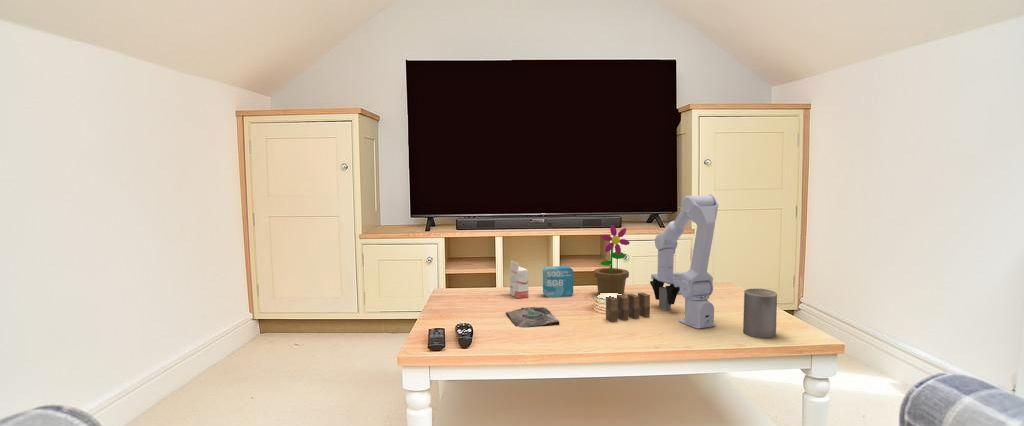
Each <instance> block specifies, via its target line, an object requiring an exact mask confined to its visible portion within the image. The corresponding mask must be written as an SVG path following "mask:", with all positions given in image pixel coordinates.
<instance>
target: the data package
mask: <svg viewBox="0 0 1024 426" xmlns="http://www.w3.org/2000/svg"><path fill="white" fill-rule="evenodd" d="M542 293H543V295H544V296H545V297H547V298H563V297H565V298H567V297H571V296H573V295H574V269H573V268H572V267H570V266H569V265H562V266H561V265H559V266H555V265H554V266H545V267H543V268H542Z"/></svg>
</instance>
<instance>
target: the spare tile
mask: <svg viewBox="0 0 1024 426" xmlns="http://www.w3.org/2000/svg"><path fill="white" fill-rule="evenodd" d="M658 308H659V309H660V310H663V311H666V312H668V311H672V305H669V304H668V294H667V290H666V287H665V286H663V287H659V300H658Z"/></svg>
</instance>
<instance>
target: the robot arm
mask: <svg viewBox="0 0 1024 426" xmlns="http://www.w3.org/2000/svg"><path fill="white" fill-rule="evenodd" d="M718 208H719V203H718V201H717V198H716V197H715V195H713V194H708V195H707V194H706V195H705V194H704V195H685V196H684V199H683V200H682V201H681V210H680V212H679V213H678V215H677V216H676V218H675V219H674V220H672V221H669V222H668V224H667V226H666V227H665V229H664V230H663V232H662V233H659V234H657V235H656V236H655V239H654V246H655V248H656V249H657V273H652V274H651V276H650V281H649V284H650V285H651V288H652V290H653V293H654V298H655V300H656V301H659V287H666V290H667V294H668V304H669V305H671V306H672V305H675V302H676V299H677V296H678V295H679V294H678V292H679V290H680V292H681V294H680V295H681V296H682V298H684V319H679V320H678V322H680V323H682V324H684V325H686V326H689V327H692V328H695V329H697V330H698V329H704V328H711V327H716V325H717V324H715V307H714V304H713V303H712V302H710V301H709V299H710V296H712V294H713V292H714V284H713V281H714V277H713V276H712V275H711V274H710V273H709V272H708V269H709V261H710V256H711V249H712V245H713V238H714V233H715V227H716V226H715V225H716V221H717V216H718ZM689 221H691V222H693V223H695V225H696V232H695V237H694V244H693V250H692V256H691V262H690V269H688V271H685V272H686V273H685V274H684V275H683V279H682V281H681V283H680V281H678V280H676V279H675V277H673V272H674V266H675V265H674V262H675V261H674V259H675V256H674V255H675V254H676V250H677V247H678V240H680V238H681V236H682V235H683V233H684V231H685V226H686V224H688V222H689ZM665 284H667V285H665ZM664 285H665V286H664Z"/></svg>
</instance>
